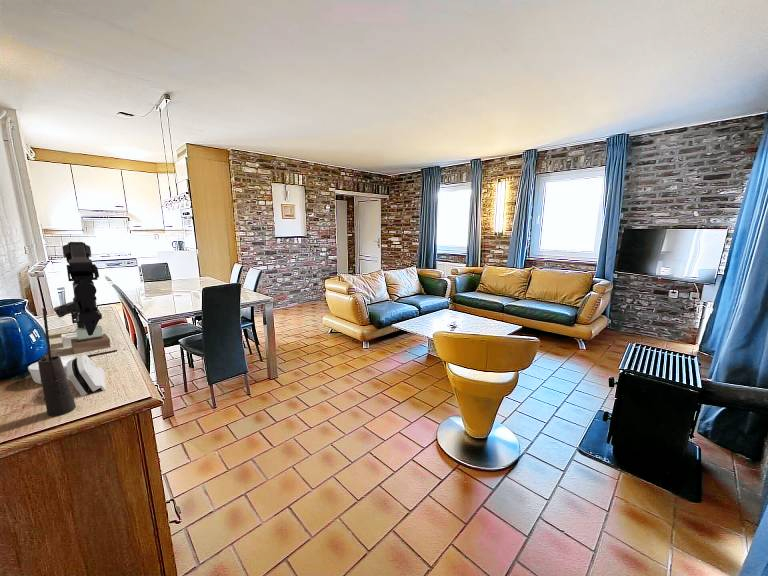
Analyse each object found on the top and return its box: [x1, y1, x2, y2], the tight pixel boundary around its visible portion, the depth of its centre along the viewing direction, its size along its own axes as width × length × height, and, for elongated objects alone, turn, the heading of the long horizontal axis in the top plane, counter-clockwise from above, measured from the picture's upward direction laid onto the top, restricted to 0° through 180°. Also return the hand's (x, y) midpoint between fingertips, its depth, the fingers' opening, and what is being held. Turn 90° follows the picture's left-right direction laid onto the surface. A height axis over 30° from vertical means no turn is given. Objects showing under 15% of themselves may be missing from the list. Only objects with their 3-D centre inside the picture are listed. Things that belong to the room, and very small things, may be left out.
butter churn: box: [37, 307, 77, 417], centre depth 78 cm, size 9×10×28 cm
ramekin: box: [27, 355, 78, 385], centre depth 97 cm, size 11×11×5 cm
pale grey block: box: [75, 324, 104, 342], centre depth 118 cm, size 4×7×7 cm, turn 139°
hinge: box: [67, 354, 106, 397], centre depth 93 cm, size 17×5×10 cm, turn 42°
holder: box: [60, 331, 77, 348], centre depth 124 cm, size 7×9×5 cm
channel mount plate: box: [71, 333, 118, 358], centre depth 119 cm, size 14×13×5 cm
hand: (89, 334), depth 118 cm, fingers closed on pale grey block, 4 cm apart
